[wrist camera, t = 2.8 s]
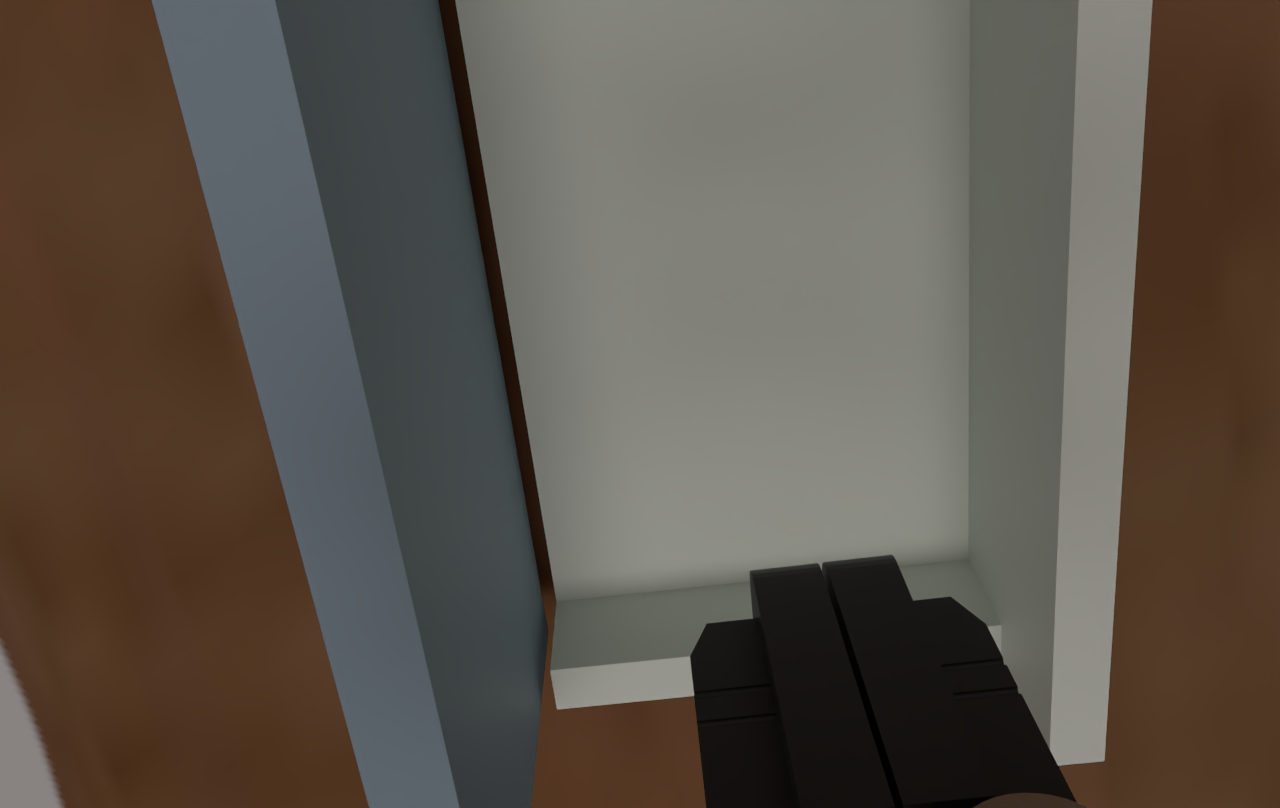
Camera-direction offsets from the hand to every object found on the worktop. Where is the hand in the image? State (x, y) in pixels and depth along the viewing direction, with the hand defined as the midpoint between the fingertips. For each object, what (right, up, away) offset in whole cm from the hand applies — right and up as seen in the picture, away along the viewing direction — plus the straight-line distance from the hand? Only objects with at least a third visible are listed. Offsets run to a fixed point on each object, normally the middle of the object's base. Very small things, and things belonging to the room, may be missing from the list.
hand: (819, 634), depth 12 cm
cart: (0, +5, +12) cm, 13 cm away
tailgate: (-5, +4, +11) cm, 13 cm away
